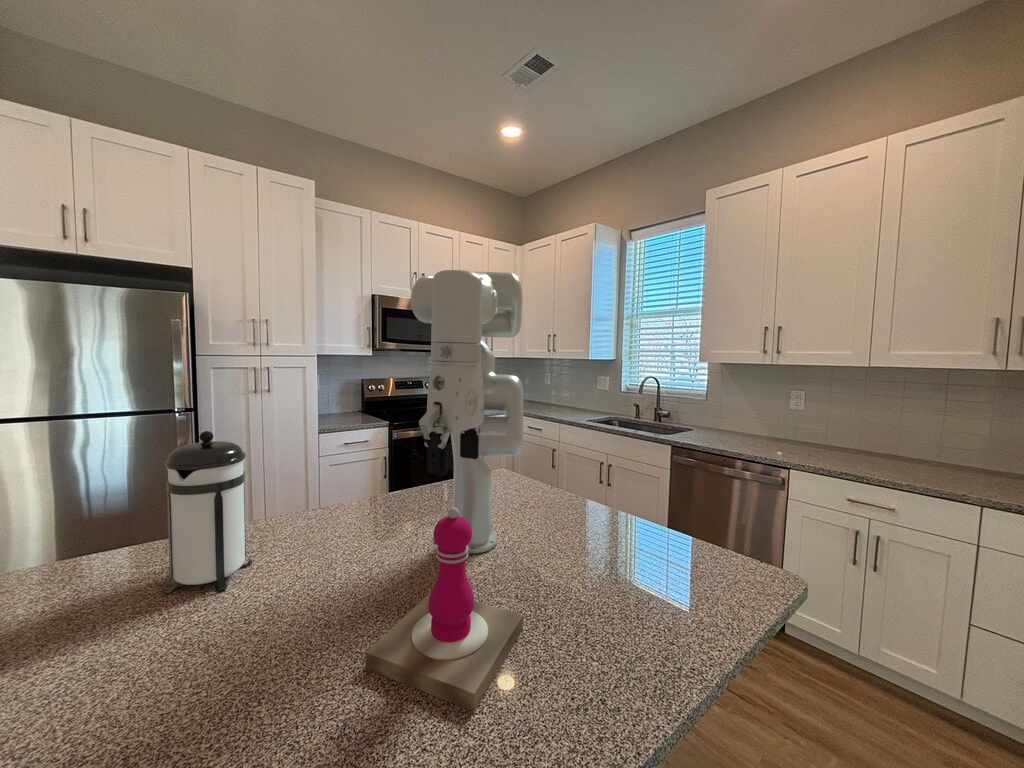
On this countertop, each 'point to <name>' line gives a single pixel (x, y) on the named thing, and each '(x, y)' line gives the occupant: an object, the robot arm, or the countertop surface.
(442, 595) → the pepper mill
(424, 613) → the walnut stand
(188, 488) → the coffee press
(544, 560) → the countertop surface
